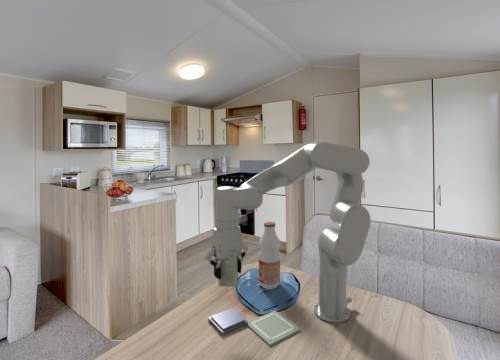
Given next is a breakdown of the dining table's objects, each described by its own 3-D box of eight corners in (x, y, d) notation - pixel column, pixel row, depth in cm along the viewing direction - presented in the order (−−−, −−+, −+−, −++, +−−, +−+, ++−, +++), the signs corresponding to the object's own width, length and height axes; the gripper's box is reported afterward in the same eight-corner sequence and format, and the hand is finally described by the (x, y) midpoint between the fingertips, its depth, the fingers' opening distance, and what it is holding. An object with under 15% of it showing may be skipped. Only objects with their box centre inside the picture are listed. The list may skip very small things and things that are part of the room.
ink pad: (232, 311, 105) (232, 306, 105) (248, 324, 97) (248, 319, 96) (208, 320, 99) (208, 315, 99) (222, 335, 91) (222, 330, 91)
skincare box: (238, 281, 98) (237, 247, 97) (236, 287, 94) (235, 252, 92) (220, 280, 99) (219, 246, 97) (217, 286, 94) (216, 251, 93)
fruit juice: (272, 292, 118) (273, 227, 115) (254, 285, 124) (254, 223, 121) (283, 283, 126) (284, 222, 123) (265, 277, 132) (266, 219, 128)
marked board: (274, 311, 104) (275, 310, 104) (300, 330, 94) (300, 328, 94) (245, 324, 97) (245, 322, 97) (270, 346, 86) (270, 344, 86)
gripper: (242, 217, 102) (243, 264, 104) (198, 225, 92) (199, 277, 94) (255, 222, 96) (255, 272, 98) (208, 231, 86) (210, 286, 88)
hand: (228, 274), depth 96 cm, fingers closed on skincare box, 7 cm apart
